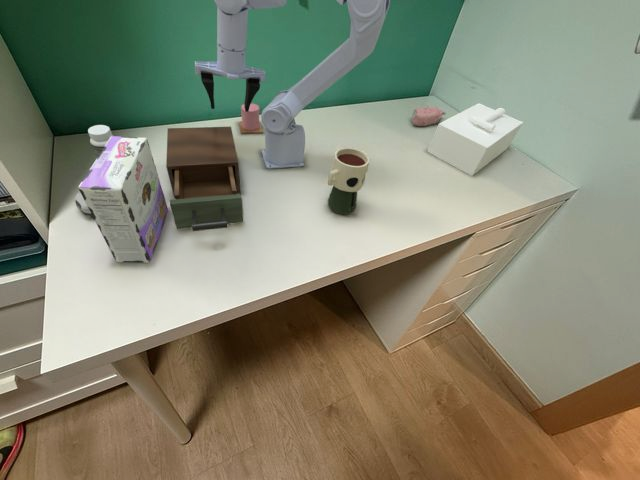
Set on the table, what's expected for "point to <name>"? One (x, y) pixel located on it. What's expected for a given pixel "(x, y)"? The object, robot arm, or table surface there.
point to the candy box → (126, 198)
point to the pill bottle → (99, 137)
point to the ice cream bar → (426, 116)
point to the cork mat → (244, 131)
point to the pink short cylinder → (250, 117)
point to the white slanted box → (474, 137)
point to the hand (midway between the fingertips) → (229, 108)
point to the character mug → (346, 178)
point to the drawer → (206, 198)
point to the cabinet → (201, 150)
